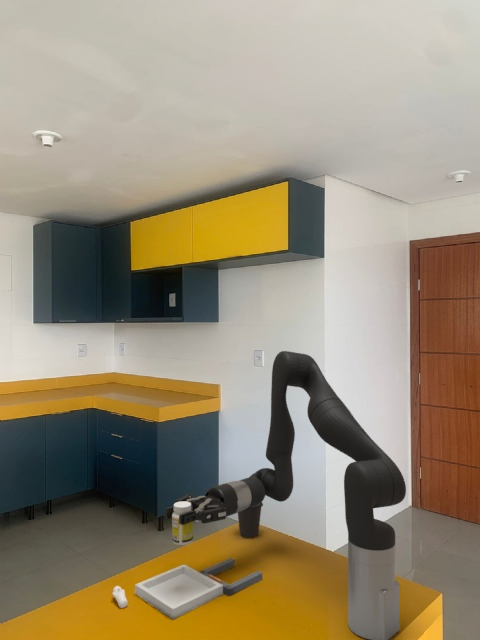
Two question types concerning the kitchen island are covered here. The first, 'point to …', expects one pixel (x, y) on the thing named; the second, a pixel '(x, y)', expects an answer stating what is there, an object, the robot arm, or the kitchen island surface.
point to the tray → (178, 591)
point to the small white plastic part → (120, 596)
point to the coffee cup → (250, 521)
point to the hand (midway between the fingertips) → (173, 516)
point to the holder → (236, 585)
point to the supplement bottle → (181, 532)
